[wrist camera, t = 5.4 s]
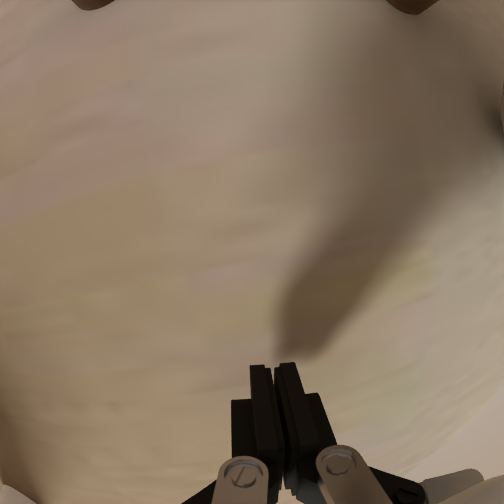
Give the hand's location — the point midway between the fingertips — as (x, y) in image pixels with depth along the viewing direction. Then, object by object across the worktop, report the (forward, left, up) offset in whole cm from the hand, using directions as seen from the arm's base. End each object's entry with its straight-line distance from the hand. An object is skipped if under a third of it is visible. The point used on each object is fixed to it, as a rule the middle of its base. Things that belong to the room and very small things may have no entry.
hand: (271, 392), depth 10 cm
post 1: (+7, +17, -2) cm, 18 cm away
